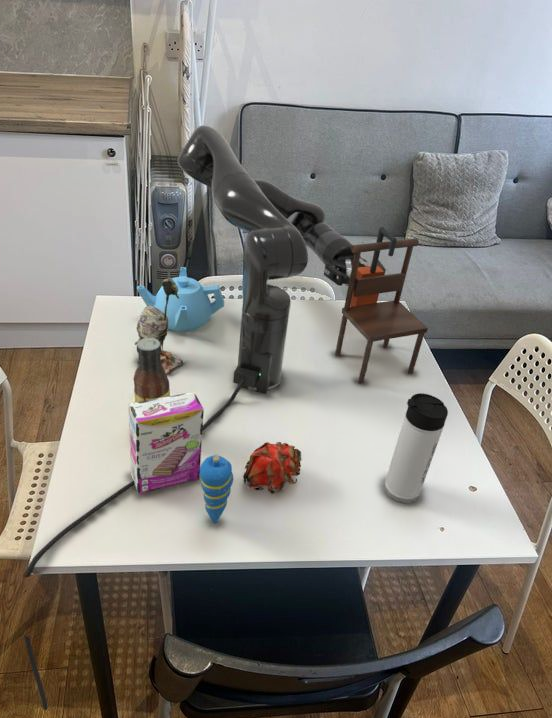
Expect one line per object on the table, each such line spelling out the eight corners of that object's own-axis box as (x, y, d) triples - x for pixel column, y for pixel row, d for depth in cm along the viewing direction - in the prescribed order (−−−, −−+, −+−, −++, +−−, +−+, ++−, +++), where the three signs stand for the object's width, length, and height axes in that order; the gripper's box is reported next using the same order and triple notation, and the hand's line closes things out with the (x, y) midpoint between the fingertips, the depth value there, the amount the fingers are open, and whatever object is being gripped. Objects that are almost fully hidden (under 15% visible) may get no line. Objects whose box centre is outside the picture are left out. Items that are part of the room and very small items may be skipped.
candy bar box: (138, 496, 106) (135, 422, 96) (130, 476, 110) (126, 402, 99) (201, 480, 110) (205, 407, 100) (192, 461, 114) (194, 389, 103)
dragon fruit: (302, 477, 115) (247, 508, 110) (279, 435, 116) (223, 465, 111) (320, 469, 107) (262, 503, 103) (296, 425, 108) (237, 456, 103)
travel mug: (378, 477, 114) (403, 389, 102) (413, 477, 115) (443, 390, 102) (386, 503, 109) (414, 415, 97) (423, 503, 110) (456, 415, 98)
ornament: (225, 537, 101) (230, 470, 92) (193, 530, 101) (196, 463, 92) (232, 513, 105) (238, 447, 96) (202, 507, 106) (205, 440, 96)
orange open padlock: (387, 318, 139) (407, 237, 127) (365, 322, 137) (384, 239, 125) (369, 300, 145) (387, 221, 133) (348, 304, 143) (364, 223, 131)
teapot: (180, 345, 142) (181, 303, 135) (135, 318, 149) (134, 277, 142) (227, 320, 152) (229, 280, 145) (182, 296, 159) (183, 257, 152)
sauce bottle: (176, 427, 120) (177, 339, 108) (162, 447, 116) (161, 358, 103) (145, 417, 122) (142, 329, 110) (130, 437, 117) (125, 348, 105)
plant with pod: (155, 343, 142) (153, 261, 129) (188, 366, 136) (190, 282, 124) (125, 356, 137) (120, 272, 125) (158, 380, 131) (157, 295, 119)
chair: (416, 373, 141) (449, 263, 124) (356, 385, 136) (383, 271, 119) (388, 344, 149) (415, 236, 132) (330, 353, 144) (351, 243, 127)
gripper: (360, 264, 154) (397, 299, 142) (306, 270, 149) (340, 307, 137) (366, 235, 149) (405, 268, 137) (311, 240, 144) (347, 275, 132)
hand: (372, 287), depth 137 cm, fingers closed on orange open padlock, 5 cm apart
